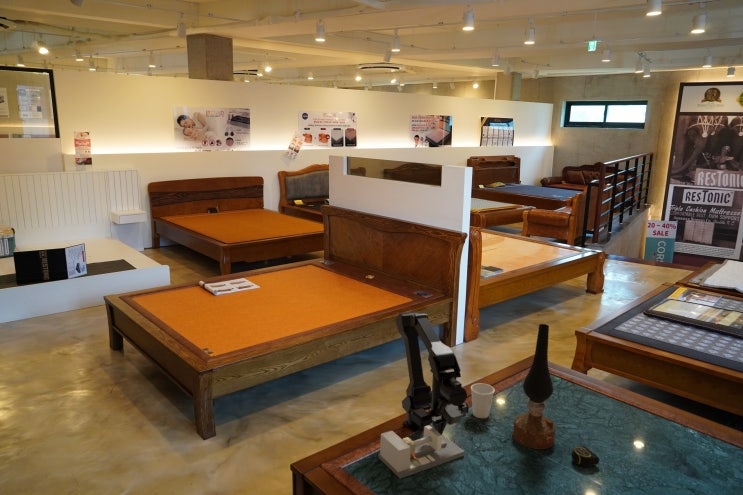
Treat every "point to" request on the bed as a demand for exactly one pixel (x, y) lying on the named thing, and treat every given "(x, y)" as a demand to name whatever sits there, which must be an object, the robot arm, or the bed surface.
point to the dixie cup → (481, 399)
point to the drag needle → (412, 445)
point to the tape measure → (584, 457)
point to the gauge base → (403, 465)
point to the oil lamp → (536, 400)
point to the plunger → (430, 438)
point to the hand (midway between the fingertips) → (438, 436)
